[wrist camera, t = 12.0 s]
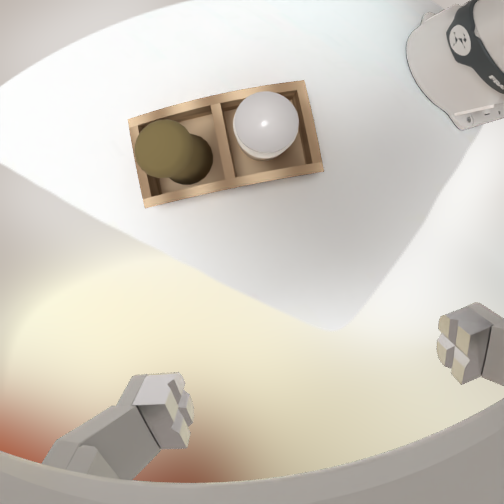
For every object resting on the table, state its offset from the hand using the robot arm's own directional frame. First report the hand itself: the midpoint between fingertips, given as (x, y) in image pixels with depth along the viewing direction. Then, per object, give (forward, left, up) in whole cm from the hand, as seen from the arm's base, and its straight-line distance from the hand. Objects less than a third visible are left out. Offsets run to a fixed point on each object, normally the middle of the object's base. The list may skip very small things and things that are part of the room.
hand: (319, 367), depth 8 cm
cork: (+8, -9, -28) cm, 31 cm away
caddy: (+3, -10, -29) cm, 31 cm away
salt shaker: (-1, -10, -28) cm, 30 cm away
